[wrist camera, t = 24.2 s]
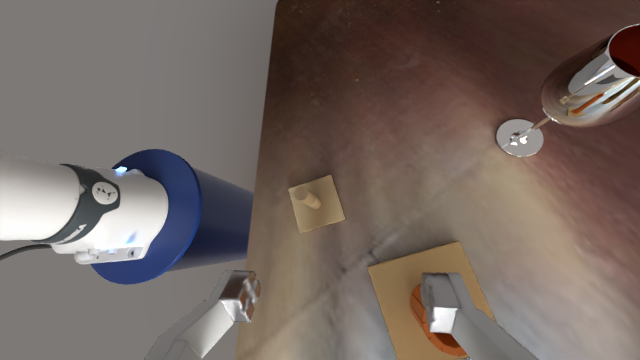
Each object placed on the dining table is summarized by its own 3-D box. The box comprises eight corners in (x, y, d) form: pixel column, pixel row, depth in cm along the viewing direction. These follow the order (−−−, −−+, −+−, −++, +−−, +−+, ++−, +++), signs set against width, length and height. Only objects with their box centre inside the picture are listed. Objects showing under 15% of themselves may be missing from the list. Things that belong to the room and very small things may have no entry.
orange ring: (419, 333, 32) (436, 362, 25) (403, 287, 34) (414, 301, 26) (463, 322, 32) (494, 348, 24) (444, 276, 33) (467, 287, 26)
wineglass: (553, 162, 35) (731, 90, 18) (492, 163, 37) (601, 96, 20) (544, 113, 37) (697, 5, 20) (486, 116, 39) (581, 18, 22)
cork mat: (400, 369, 32) (401, 373, 32) (367, 266, 37) (367, 267, 36) (503, 345, 31) (508, 348, 30) (456, 240, 35) (459, 240, 34)
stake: (301, 233, 40) (280, 231, 30) (289, 190, 42) (267, 175, 33) (345, 219, 39) (338, 212, 29) (331, 175, 41) (321, 156, 32)
